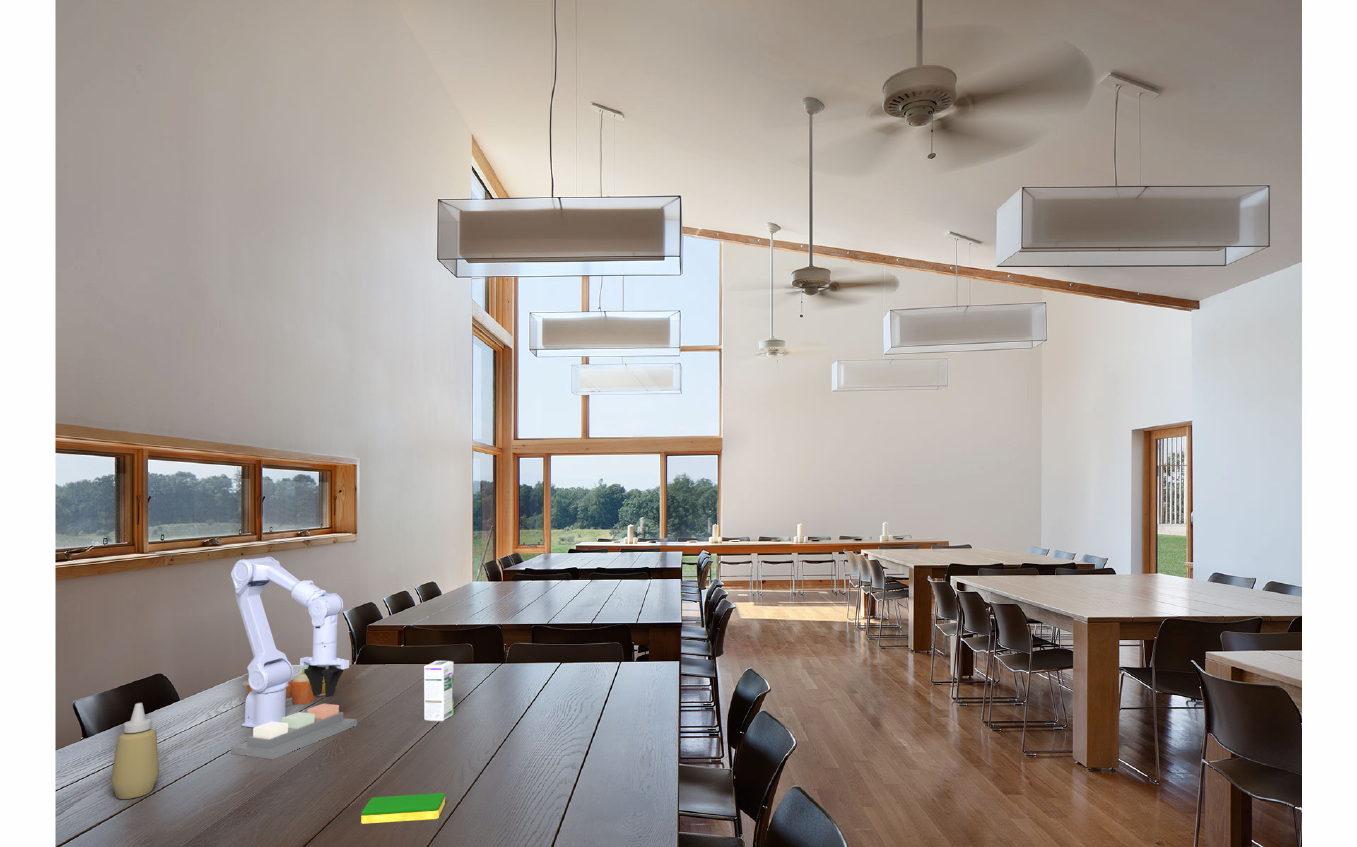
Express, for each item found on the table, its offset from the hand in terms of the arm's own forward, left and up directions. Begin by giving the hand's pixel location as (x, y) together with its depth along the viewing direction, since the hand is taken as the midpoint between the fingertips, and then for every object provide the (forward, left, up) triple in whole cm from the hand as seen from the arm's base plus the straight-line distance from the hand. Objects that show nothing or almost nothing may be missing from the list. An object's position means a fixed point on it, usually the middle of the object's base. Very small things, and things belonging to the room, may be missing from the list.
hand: (323, 695), depth 194 cm
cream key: (0, -16, -5) cm, 17 cm away
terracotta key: (0, 0, -5) cm, 5 cm away
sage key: (0, -8, -5) cm, 10 cm away
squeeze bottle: (-4, -45, -9) cm, 46 cm away
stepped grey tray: (0, -8, -8) cm, 12 cm away
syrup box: (+23, +17, -9) cm, 30 cm away
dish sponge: (+55, -35, -9) cm, 66 cm away
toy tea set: (-34, +19, -9) cm, 40 cm away
